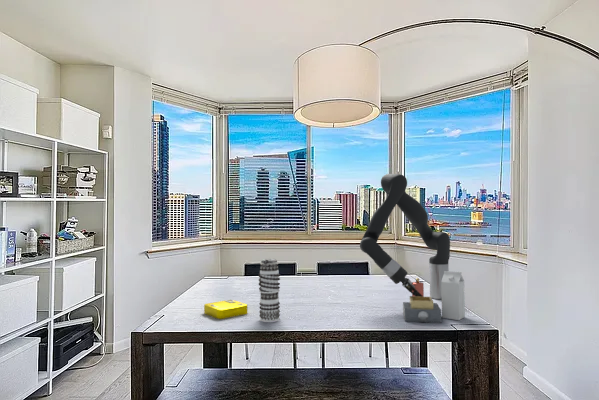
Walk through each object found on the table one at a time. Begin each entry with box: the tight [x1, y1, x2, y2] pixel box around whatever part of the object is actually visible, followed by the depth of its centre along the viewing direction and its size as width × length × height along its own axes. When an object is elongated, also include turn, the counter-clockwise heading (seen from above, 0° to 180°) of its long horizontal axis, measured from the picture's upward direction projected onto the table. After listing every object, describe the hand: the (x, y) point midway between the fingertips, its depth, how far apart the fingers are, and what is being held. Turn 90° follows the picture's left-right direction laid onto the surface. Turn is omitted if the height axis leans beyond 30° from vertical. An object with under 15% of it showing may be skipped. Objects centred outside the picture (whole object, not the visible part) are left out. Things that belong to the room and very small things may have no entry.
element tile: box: [203, 299, 248, 320], centre depth 181 cm, size 15×15×5 cm
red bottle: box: [411, 277, 425, 297], centre depth 183 cm, size 5×5×14 cm
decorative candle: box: [257, 258, 281, 323], centre depth 170 cm, size 9×9×25 cm
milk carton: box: [441, 270, 466, 321], centre depth 170 cm, size 7×7×19 cm
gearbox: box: [402, 295, 442, 324], centre depth 169 cm, size 13×14×8 cm
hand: (422, 298), depth 183 cm, fingers closed on red bottle, 5 cm apart
